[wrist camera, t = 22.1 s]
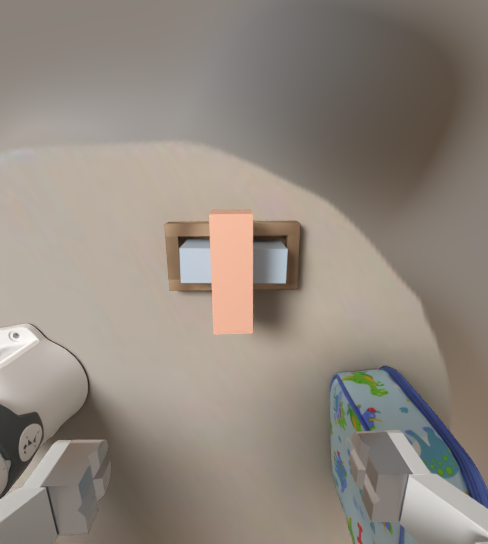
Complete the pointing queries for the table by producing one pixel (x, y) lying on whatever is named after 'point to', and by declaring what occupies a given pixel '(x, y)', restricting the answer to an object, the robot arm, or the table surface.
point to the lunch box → (391, 416)
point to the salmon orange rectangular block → (232, 271)
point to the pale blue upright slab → (265, 261)
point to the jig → (261, 231)
